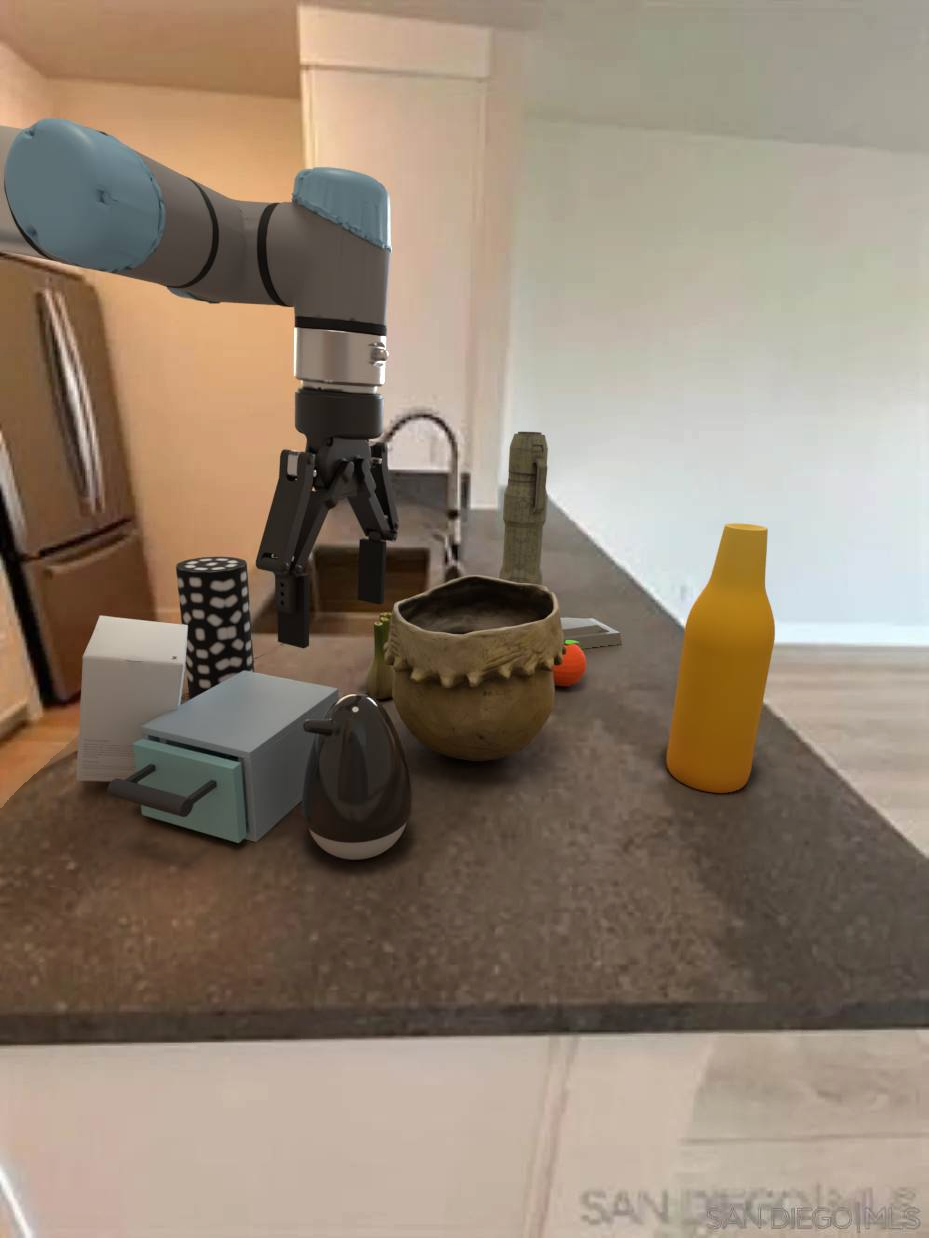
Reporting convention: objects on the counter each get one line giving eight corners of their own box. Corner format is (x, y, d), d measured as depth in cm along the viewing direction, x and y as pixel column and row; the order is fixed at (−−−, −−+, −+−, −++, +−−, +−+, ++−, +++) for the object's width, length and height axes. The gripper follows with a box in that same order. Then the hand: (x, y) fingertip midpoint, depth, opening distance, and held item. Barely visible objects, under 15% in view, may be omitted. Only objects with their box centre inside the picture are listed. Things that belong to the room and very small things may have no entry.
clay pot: (477, 823, 68) (485, 636, 61) (348, 747, 81) (344, 588, 75) (592, 753, 82) (609, 596, 76) (466, 699, 96) (471, 562, 90)
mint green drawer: (202, 875, 58) (194, 796, 55) (100, 843, 61) (89, 767, 59) (322, 768, 75) (320, 704, 73) (237, 748, 79) (233, 686, 76)
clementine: (568, 671, 107) (572, 629, 105) (598, 687, 102) (603, 642, 99) (528, 680, 103) (531, 637, 101) (558, 697, 97) (562, 651, 95)
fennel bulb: (381, 706, 93) (380, 623, 89) (355, 696, 95) (354, 616, 92) (409, 693, 97) (409, 614, 93) (384, 684, 100) (384, 607, 96)
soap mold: (622, 644, 120) (624, 625, 119) (522, 656, 113) (523, 637, 112) (590, 626, 129) (592, 609, 128) (496, 637, 122) (497, 618, 121)
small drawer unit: (256, 842, 64) (249, 752, 61) (151, 812, 68) (140, 726, 65) (340, 764, 78) (338, 688, 75) (249, 743, 82) (244, 670, 79)
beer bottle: (746, 762, 81) (790, 523, 72) (750, 802, 73) (800, 538, 64) (667, 747, 84) (700, 516, 75) (662, 784, 76) (698, 529, 67)
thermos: (519, 613, 136) (531, 433, 125) (486, 598, 145) (494, 430, 134) (553, 607, 141) (567, 434, 130) (518, 593, 150) (528, 430, 139)
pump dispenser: (281, 839, 64) (272, 693, 59) (369, 798, 71) (367, 665, 66) (343, 895, 57) (338, 734, 53) (433, 843, 64) (437, 698, 60)
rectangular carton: (176, 734, 79) (191, 623, 74) (169, 785, 72) (186, 664, 66) (89, 729, 76) (98, 612, 70) (72, 781, 68) (81, 655, 63)
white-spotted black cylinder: (239, 727, 85) (227, 574, 79) (178, 720, 87) (161, 569, 80) (267, 700, 93) (258, 559, 87) (211, 694, 94) (198, 554, 88)
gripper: (289, 391, 45) (290, 678, 52) (439, 392, 67) (425, 594, 74) (199, 381, 47) (213, 656, 55) (373, 385, 69) (366, 581, 77)
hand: (335, 621), depth 65 cm, fingers open, 13 cm apart
